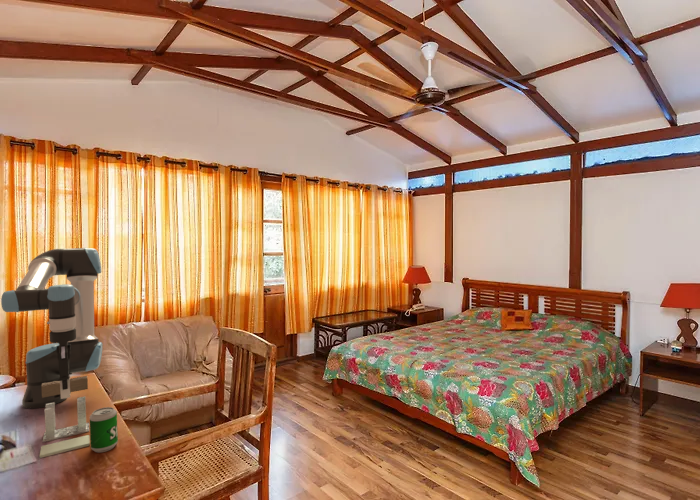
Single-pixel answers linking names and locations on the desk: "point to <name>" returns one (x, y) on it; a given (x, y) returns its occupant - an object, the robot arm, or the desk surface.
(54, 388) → the rail
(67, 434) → the rack
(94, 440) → the soda can
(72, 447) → the mat
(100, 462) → the desk surface
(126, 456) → the desk surface
